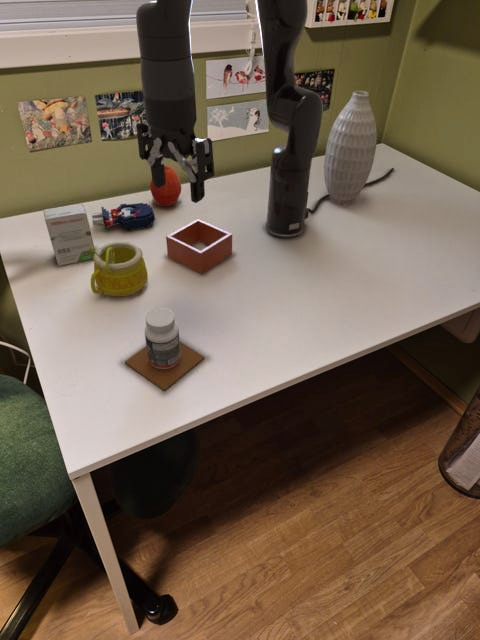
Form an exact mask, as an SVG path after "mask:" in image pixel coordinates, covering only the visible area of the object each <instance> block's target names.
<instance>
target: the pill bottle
mask: <svg viewBox="0 0 480 640" xmlns="http://www.w3.org/2000/svg"><path fill="white" fill-rule="evenodd" d="M144 337H145V339H144V340H145V345H146V346H147V352H148V358H149V362H150V363H151V365H152V366H154V367H156V368H158V369H169V368H172V367H174V366H175V365H177V364H178V362H179V361H180V358H181V350H180V342H181V340H180V329H179V326H178V324H177V322H176V319H175V314H174V312H173V311H172V310H170V309H168V308H166V307H165V308H164V307H159V308H158V307H157V308H154V309H152V310H150V311H148V313H147V314H146V315H145V328H144Z"/></svg>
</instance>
